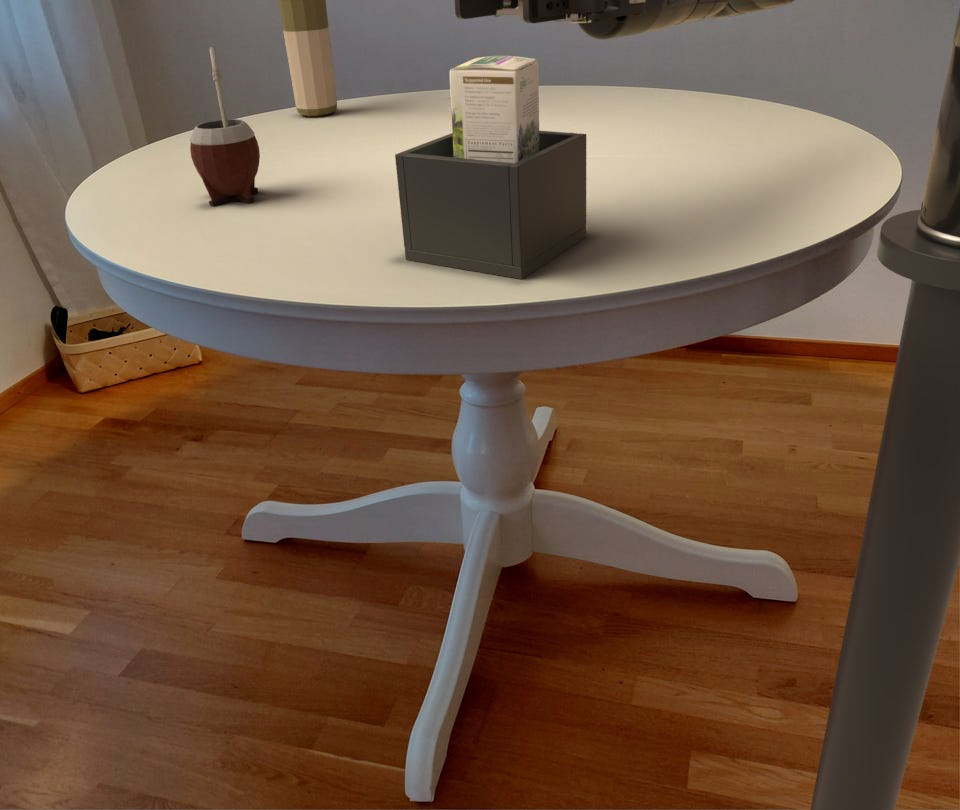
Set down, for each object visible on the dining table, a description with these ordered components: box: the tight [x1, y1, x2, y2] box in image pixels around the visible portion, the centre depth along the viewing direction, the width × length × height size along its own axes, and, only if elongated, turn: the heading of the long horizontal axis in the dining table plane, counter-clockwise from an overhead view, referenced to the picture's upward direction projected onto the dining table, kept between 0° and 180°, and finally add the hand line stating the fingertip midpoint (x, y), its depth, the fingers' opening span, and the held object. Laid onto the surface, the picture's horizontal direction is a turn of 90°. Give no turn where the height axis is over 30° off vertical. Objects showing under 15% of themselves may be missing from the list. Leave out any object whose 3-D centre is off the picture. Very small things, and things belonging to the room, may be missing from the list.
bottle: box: [277, 0, 338, 118], centre depth 131 cm, size 7×7×30 cm
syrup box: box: [449, 55, 540, 164], centre depth 73 cm, size 6×6×14 cm
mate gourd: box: [189, 46, 261, 207], centre depth 94 cm, size 8×8×15 cm
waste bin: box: [394, 130, 587, 280], centre depth 75 cm, size 12×12×9 cm
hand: (490, 6), depth 68 cm, fingers open, 8 cm apart
